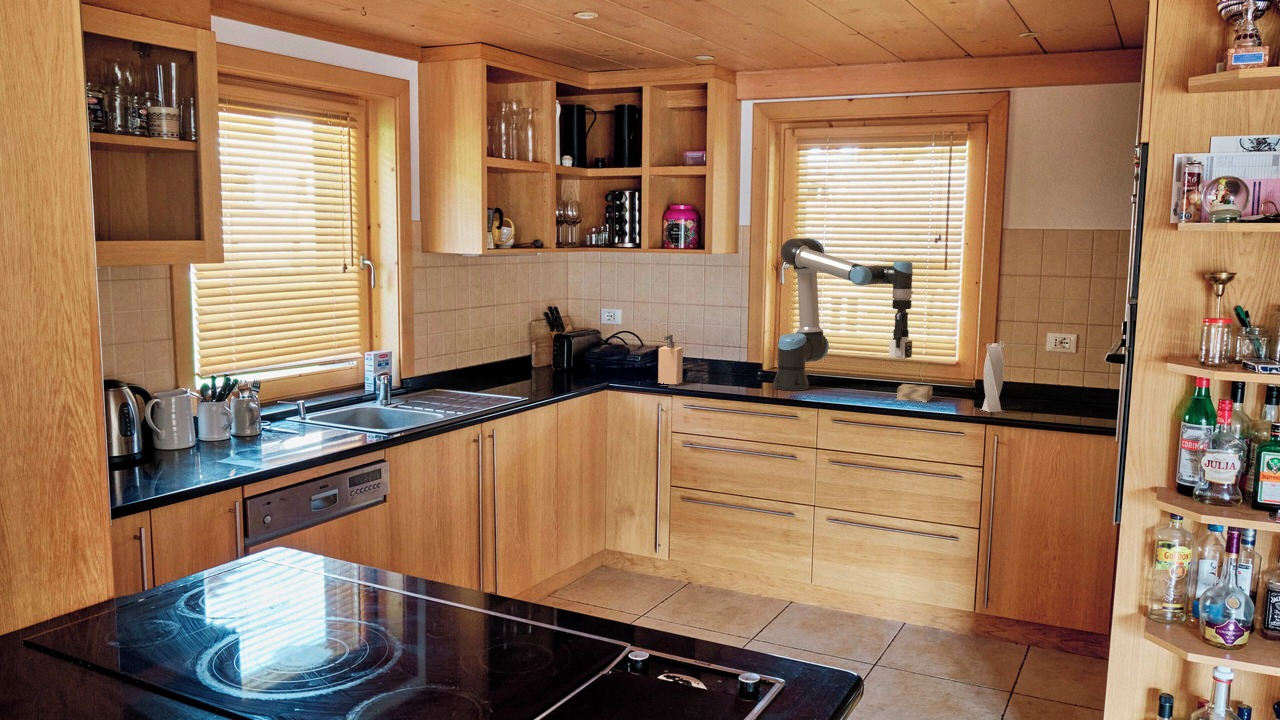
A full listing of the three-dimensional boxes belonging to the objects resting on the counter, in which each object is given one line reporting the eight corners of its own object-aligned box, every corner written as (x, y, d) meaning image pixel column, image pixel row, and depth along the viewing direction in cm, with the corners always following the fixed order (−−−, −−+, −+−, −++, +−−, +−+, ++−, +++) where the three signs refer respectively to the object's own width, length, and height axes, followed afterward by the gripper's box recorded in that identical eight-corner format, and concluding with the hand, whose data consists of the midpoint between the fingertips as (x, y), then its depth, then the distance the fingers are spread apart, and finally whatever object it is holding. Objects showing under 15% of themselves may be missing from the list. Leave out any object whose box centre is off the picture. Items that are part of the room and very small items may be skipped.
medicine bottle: (904, 359, 407) (905, 329, 406) (888, 357, 411) (889, 328, 410) (911, 357, 413) (912, 328, 411) (895, 356, 417) (896, 327, 416)
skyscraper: (1007, 413, 383) (1012, 340, 379) (988, 414, 381) (993, 340, 377) (995, 409, 391) (1000, 338, 387) (976, 410, 389) (981, 338, 386)
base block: (896, 400, 410) (897, 387, 409) (902, 395, 420) (903, 383, 420) (926, 402, 404) (927, 390, 404) (931, 398, 415) (932, 385, 414)
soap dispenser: (663, 382, 449) (664, 333, 446) (682, 383, 446) (683, 334, 443) (655, 386, 437) (655, 336, 434) (673, 387, 434) (674, 337, 431)
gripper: (906, 300, 398) (904, 357, 401) (916, 298, 417) (914, 352, 419) (887, 300, 402) (885, 356, 404) (898, 297, 420) (896, 351, 423)
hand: (900, 354), depth 412 cm, fingers closed on medicine bottle, 8 cm apart
